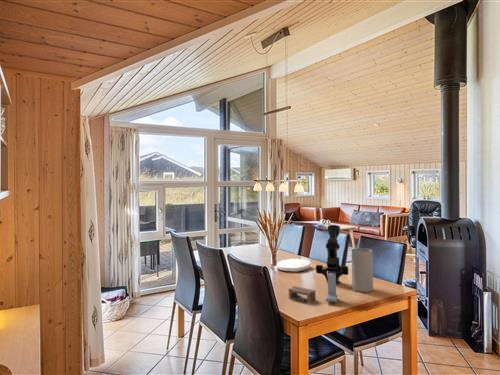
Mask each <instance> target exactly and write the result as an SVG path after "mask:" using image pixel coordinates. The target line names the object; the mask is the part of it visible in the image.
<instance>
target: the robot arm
mask: <svg viewBox="0 0 500 375" xmlns="http://www.w3.org/2000/svg"><path fill="white" fill-rule="evenodd" d="M326 228H327V232H328V235H329V238H328V239H327V241H326V243H325V249H326V253H327V258H326V259H327V260H326V266H324V265H323V264H316V265H315V272H316V274H322V275H323V276H324V278H325V281H326V282H327V284H328V273H336V285H338V284H340V283H342V281H341V280H340V277H343V275H344V276H348V275H349V266H347V265H340V257H339V256H338V251H339V249H340V248H341V246H340V244H339V243H338V237H339V235H340V232H341V226H340V225H336V224H329V225H327V226H326Z"/></svg>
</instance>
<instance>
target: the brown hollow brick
mask: <svg viewBox="0 0 500 375" xmlns="http://www.w3.org/2000/svg"><path fill="white" fill-rule="evenodd" d="M301 295H302V296H306V299H305V298H302V297H301ZM316 297H317V296H316V290H315V289H311V288H306V287H301V286H297V285H294V286H292V287H290V288H288V299H292V300H295V301H299V302H303V303H306V304H311V303H312V302H314V301H316Z"/></svg>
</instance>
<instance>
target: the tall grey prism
mask: <svg viewBox="0 0 500 375" xmlns="http://www.w3.org/2000/svg"><path fill="white" fill-rule="evenodd" d="M327 276H328V283H327V294H326V297H325V302H326V301H327V302H336V303H337V302H338V294H337V284H336V273H328V272H327Z"/></svg>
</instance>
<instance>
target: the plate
mask: <svg viewBox="0 0 500 375" xmlns="http://www.w3.org/2000/svg"><path fill="white" fill-rule="evenodd" d="M311 264H312V263H311V261H309V260H307V259H302V258H289V259H282V260H280V261H278V262H277V263H276V268H277V269H279V270H281V271H284V272H297V273H298V272H301V271H305V270H308V269H309V268H311Z"/></svg>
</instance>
